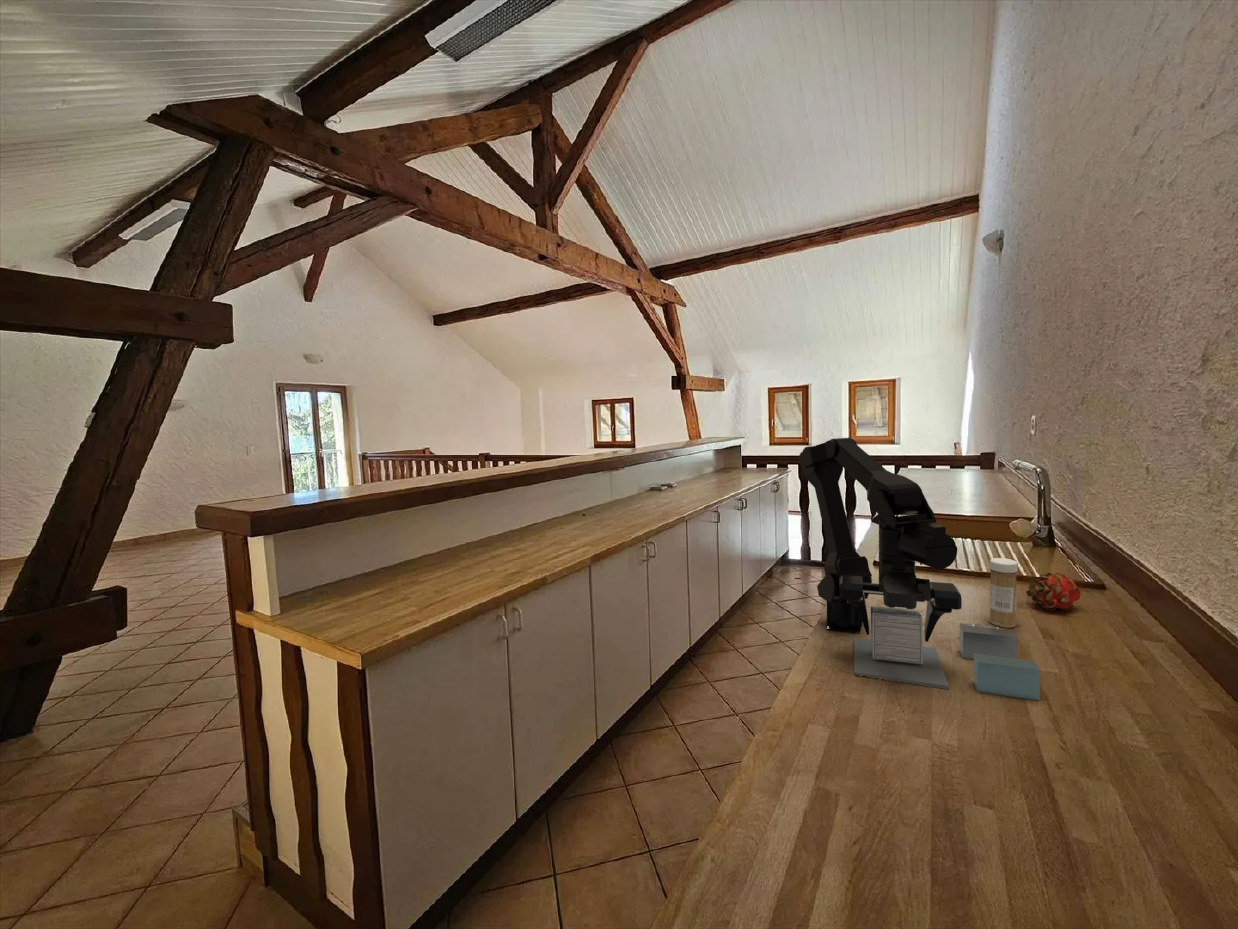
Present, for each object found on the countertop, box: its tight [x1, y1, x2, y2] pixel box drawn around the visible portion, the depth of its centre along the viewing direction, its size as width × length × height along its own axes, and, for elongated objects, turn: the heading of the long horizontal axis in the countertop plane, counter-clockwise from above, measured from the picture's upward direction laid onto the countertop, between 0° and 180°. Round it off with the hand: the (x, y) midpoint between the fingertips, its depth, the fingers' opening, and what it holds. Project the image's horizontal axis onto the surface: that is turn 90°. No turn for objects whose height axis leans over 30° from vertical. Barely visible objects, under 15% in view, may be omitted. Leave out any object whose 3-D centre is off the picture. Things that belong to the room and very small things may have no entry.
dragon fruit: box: [1026, 572, 1081, 612], centre depth 113 cm, size 8×8×12 cm
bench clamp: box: [958, 622, 1041, 701], centre depth 91 cm, size 8×21×5 cm, turn 156°
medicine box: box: [870, 605, 923, 664], centre depth 93 cm, size 8×4×9 cm, turn 68°
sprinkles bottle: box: [988, 557, 1019, 629], centre depth 106 cm, size 5×5×14 cm
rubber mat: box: [853, 637, 950, 690], centre depth 93 cm, size 14×14×1 cm
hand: (896, 637), depth 93 cm, fingers open, 9 cm apart
